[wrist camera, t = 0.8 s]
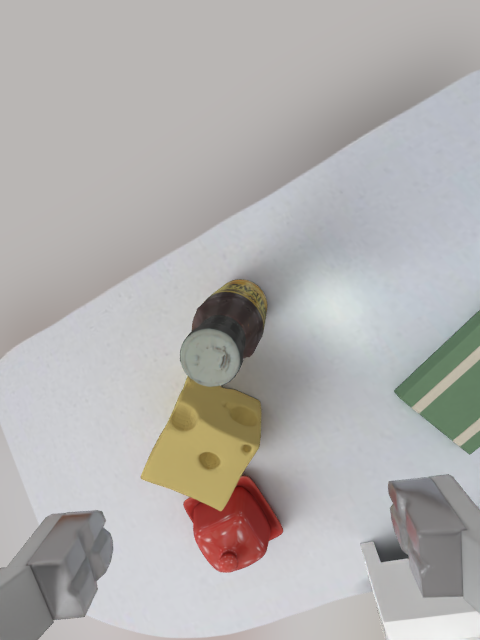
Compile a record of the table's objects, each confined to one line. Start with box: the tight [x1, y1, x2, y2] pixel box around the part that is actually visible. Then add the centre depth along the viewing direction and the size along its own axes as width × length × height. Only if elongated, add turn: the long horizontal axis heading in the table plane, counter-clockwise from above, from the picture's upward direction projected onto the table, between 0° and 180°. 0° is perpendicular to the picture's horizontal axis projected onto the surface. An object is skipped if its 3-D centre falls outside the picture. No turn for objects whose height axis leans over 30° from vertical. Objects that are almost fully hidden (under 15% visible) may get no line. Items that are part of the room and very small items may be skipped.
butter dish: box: [184, 476, 283, 572], centre depth 43 cm, size 12×12×8 cm
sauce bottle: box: [180, 279, 267, 387], centre depth 30 cm, size 7×6×20 cm
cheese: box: [141, 377, 261, 511], centre depth 39 cm, size 10×11×10 cm
